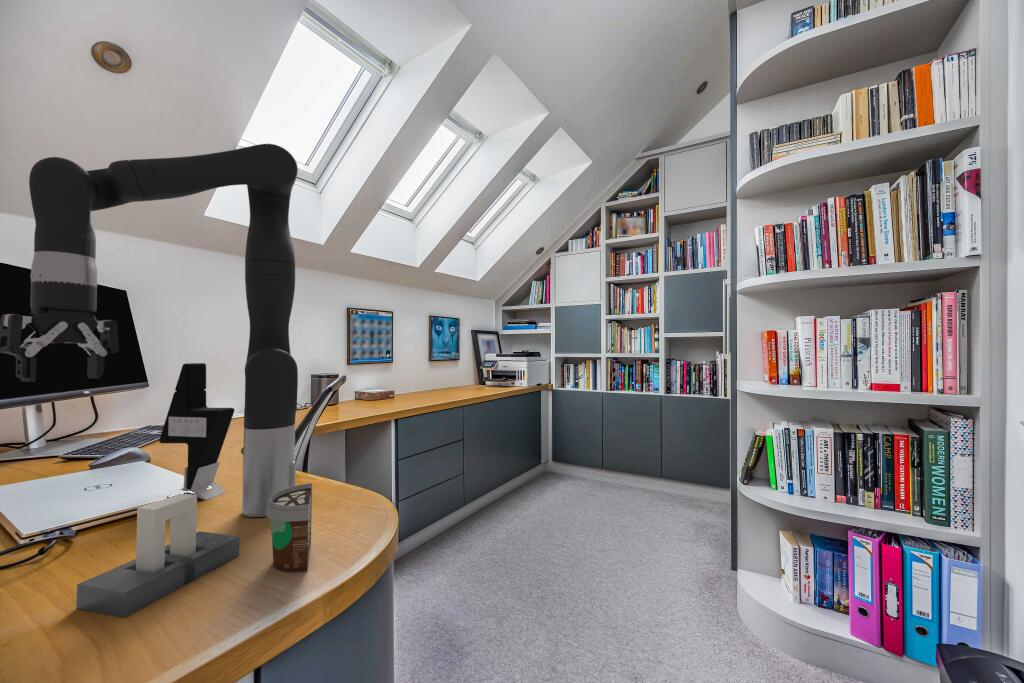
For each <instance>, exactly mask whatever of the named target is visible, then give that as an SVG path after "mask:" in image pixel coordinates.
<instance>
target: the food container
mask: <svg viewBox="0 0 1024 683" xmlns="http://www.w3.org/2000/svg"><path fill="white" fill-rule="evenodd" d="M312 499H313V482H308V483H303V484H298V485H295V486H293V487H289V488H286V489H283V490H281V491H278V492H276V493H275V494H273V495H272V496H271V498H270V500H269V502H268V505H267V508H266V513H265V515H266V516H265V517H267V519H270V531H271V545H272V546H271V547H272V561H273V562H272V563H273V564H272V565H273V567H274V568H275V569H276V570H277V571H279V572H284V573H303V572H307V571H308V570H309V563H310V555H311V554H310V553H311V547H312V514H313V513H312V508H313V507H312V506H313V500H312Z"/></svg>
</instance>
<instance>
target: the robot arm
mask: <svg viewBox="0 0 1024 683" xmlns="http://www.w3.org/2000/svg"><path fill="white" fill-rule="evenodd" d="M298 171H299V169H298V163H297V161H296V158H295V157H294V156H293V155H292V153H291V152H290V151H289V150H287V149H286V148H285V147H282V146H281V145H277V144H274V143H261V144H255V145H250V146H244V147H241V148H237V149H232V150H225V151H219V152H214V153H213V152H212V153H207V154H206V153H205V154H198V155H189V156H188V155H187V156H178V157H177V156H176V157H175V156H174V157H163V158H162V157H161V158H141V159H122V160H121V159H120V160H116V161H115V160H114V161H112V162H111V163H110V164H109V165H108V167H106V168H99V169H90V170H86V169H85V168H84V167H82V166H81V165H79V164H77V163H76V162H74V161H72V160H70V159H67V158H64V157H58V156H52V157H51V156H50V157H45V158H42V159H39V160H38V161H37V162H35V164H33V165H32V168H31V169H30V173H29V179H28V182H29V183H28V184H29V194H30V200H31V207H32V210H33V211H32V212H33V216H34V222H35V226H34V227H35V228H34V236H33V238H34V239H33V241H34V242H33V245H34V246H33V258H32V261H31V262H32V263H31V268H30V269H31V271H30V272H31V273H30V302H29V304H30V309H31V312H30V315H29V316H26V315H22V314H20V313H9V314H7V313H5V314H2V315H1V316H0V353H1V354H7V355H11V356H13V357H15V377H16V378H17V379H19V381H21V382H24V383H25V382H27V383H29V382H35V381H36V380H37V357H34V356H36V355H37V353H39V352H40V350H42V348H45V347H47V346H48V345H49V344H77V345H78V347H79V348H82V349H83V350H84V351H86V353H87V354H88V355H89V356H87V367H86V368H87V372H86V375H87V378H88V379H101V377H102V375H103V376H104V373H105V358H106V356H109V355H111V354H116V353H119V333H118V332H119V331H118V329H119V328H118V321H117V320H115V319H105V320H104V319H103V320H97V318H96V316H95V315H96V312H97V307H98V306H97V305H98V304H97V303H98V302H97V300H98V268H97V263H96V261H97V260H96V255H97V253H96V252H97V251H96V250H97V248H96V247H97V239H96V233H95V229H94V228H93V224H92V221H91V212H94V211H95V212H96V211H101V210H102V211H103V210H106V209H110V208H115V207H118V206H123V205H126V204H129V203H136V202H151V201H161V200H170V199H178V198H182V197H183V198H184V197H187V196H188V197H189V196H193V195H196V194H199V193H202V192H207V191H211V190H213V189H217V188H224V187H230V186H241V185H242V186H243V185H246V188H247V194H248V195H247V196H248V204H249V206H248V207H249V225H248V230H247V237H246V243H245V254H244V261H245V262H244V279H245V280H244V285H245V295H246V296H245V297H246V305H247V306H246V307H247V312H248V317H249V338H248V349H247V354H246V355H247V356H246V360H245V365H244V409H243V410H244V412H243V452H242V453H243V457H242V459H243V464H242V501H241V502H242V503H241V507H242V509H241V510H242V512H241V513H242V515H243V516H245V517H249V518H260V517H261V518H262V517H267V516H266V515H265V513H266V508H267V505H268V502H269V500H270V498H271V496H272V495H273V494H275V493H276V492H278V491H281V490H283V489H286V488H289V487H293V486H296V461H295V458H296V457H295V455H296V453H295V452H296V450H295V449H296V415H297V414H296V413H297V408H298V386H299V385H298V382H299V376H298V375H299V373H298V372H299V371H298V364H297V362H296V360H295V359H294V357H293V356H292V353H291V346H290V345H291V344H290V335H289V334H290V331H289V330H290V329H289V328H290V327H289V326H290V319H291V314H292V311H293V310H292V309H293V304H294V298H295V289H296V257H295V255H296V254H295V250H294V244H293V239H292V236H291V230H290V224H289V223H290V222H289V218H290V217H289V216H290V215H289V214H290V202H291V196H292V190H293V187H294V185H295V183H296V180H297V177H298ZM27 325H29V327H30V328H31V329H32V330H33V332H32V333H31V334H30V335H28V336H27V338H25V339H24V340H23V343H22V344H21V340H22V331H23V330H24V329H25V328H26V326H27ZM96 328H97V331H98V332H99V335H100V336H99V337H100V339H99V338H98V337H97V336H96V335H95V334H94V333H93V332H94V331H95V330H96Z"/></svg>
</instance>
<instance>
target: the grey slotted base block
mask: <svg viewBox="0 0 1024 683" xmlns="http://www.w3.org/2000/svg"><path fill="white" fill-rule="evenodd" d="M238 556H240V536H239V535H232V534H231V535H230V534H225V533H223V534H222V533H216V532H207V531H198V532H197V531H196V553H194V554H192V555H190V556H188V557H183V556H176V555H170V543H169V544H167V545H165V562H164V568H163V569H161V570H159V571H157V572H155V573H148V572H142V571H136V558H134V559H132V560H130V561H128V562H126V563H124V564H123V563H122V564H120V565H119V566H116V567H114V568H112V569H110V570H107V571H105V572H103V573H100V574H97V575H96V576H93V577H90V578H88V579H86V580H84V581H81V582H80V583H77V584H76V609H77V610H82V611H88V612H93V613H98V614H103V615H108V616H112V617H118V618H127V617H128V616H131V615H132V614H134V613H136V612H138V611H140V610H141V609H143V608H145V607H146V606H147V607H148V605H150V604H152V603H154V602H155V601H158V600H160V599H161V598H163V597H165V596H166V595H169V594H171V593H172V592H175V591H176V590H178V589H181V588H182V587H183V586H185V585H187V584H189V583H190V582H191V583H192V582H193V581H195V580H196V579H199V578H200V577H201V576H204V575H205V574H207V573H209V572H211V571H213V570H215V569H217V568H219V567H221V566H222V565H224V564H226V563H227V562H230V561H231V560H233V559H235V558H236V557H238Z"/></svg>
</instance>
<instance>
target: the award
mask: <svg viewBox="0 0 1024 683" xmlns="http://www.w3.org/2000/svg"><path fill="white" fill-rule="evenodd" d="M206 389H207V364H206V363H204V362H194V363H192V362H190V363H184V364H182V367H181V370H180V372H179V376H178V379H177V382H176V386H175V388H174V392H173V394H172V398H171V401H170V405H169V408H168V411H167V415H166V418H165V420H164V424H163V428H162V430H161V433H160V436H159V439H158V442H159V443H160V444H185V445H187V466H185V467H184V472H183V473H184V474H183V475H184V476H183V487H182V488H180V490H183V491H188V490H189V491H192V492H195V494H193V495H197V498H198V499H201V500H203V501H207V500H208V501H209V500H211V499H213V498H216V497H219V496H221V495H224V494H226V493H227V491H226V490H224V488H222V487H221V486H220V485H219V484H218V483H216V482H215V477H216V474H217V471H218V469H219V466H220V462H221V461H218V460H219V457H220V454H221V451H222V449H223V446H224V443H225V440H226V436H227V434H228V432H229V429H230V425H231V423H232V420H233V416H234V414H235V408H234V407H208V406H207V390H206ZM208 486H211V487H212V489H211V490H207V488H209V487H208Z"/></svg>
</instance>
